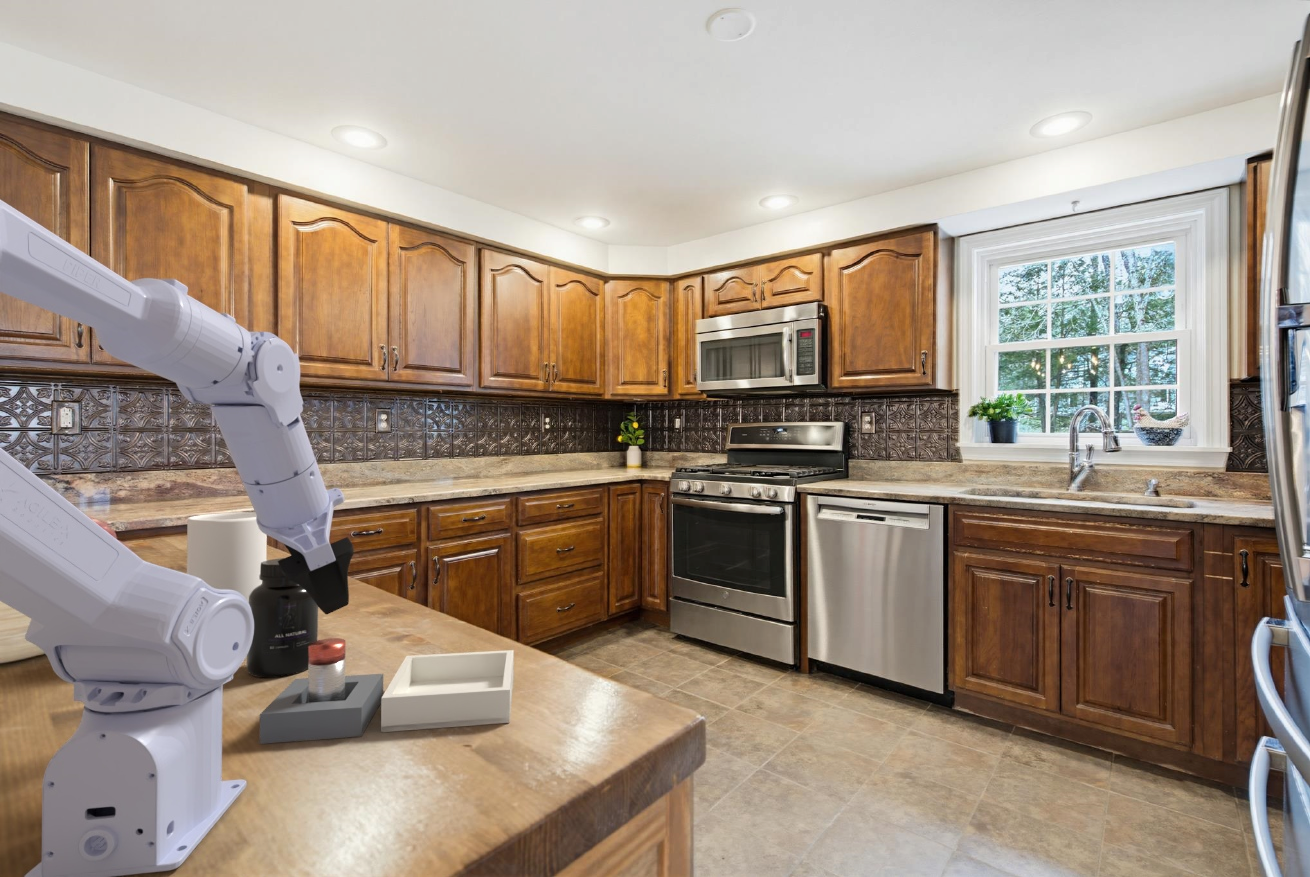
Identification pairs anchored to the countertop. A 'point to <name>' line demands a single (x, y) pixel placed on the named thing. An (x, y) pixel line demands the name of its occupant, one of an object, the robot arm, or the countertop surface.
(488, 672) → the pin tray
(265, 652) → the supplement bottle
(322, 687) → the stop pin
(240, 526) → the cup
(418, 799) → the countertop surface
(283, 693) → the gray square holder
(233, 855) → the countertop surface
